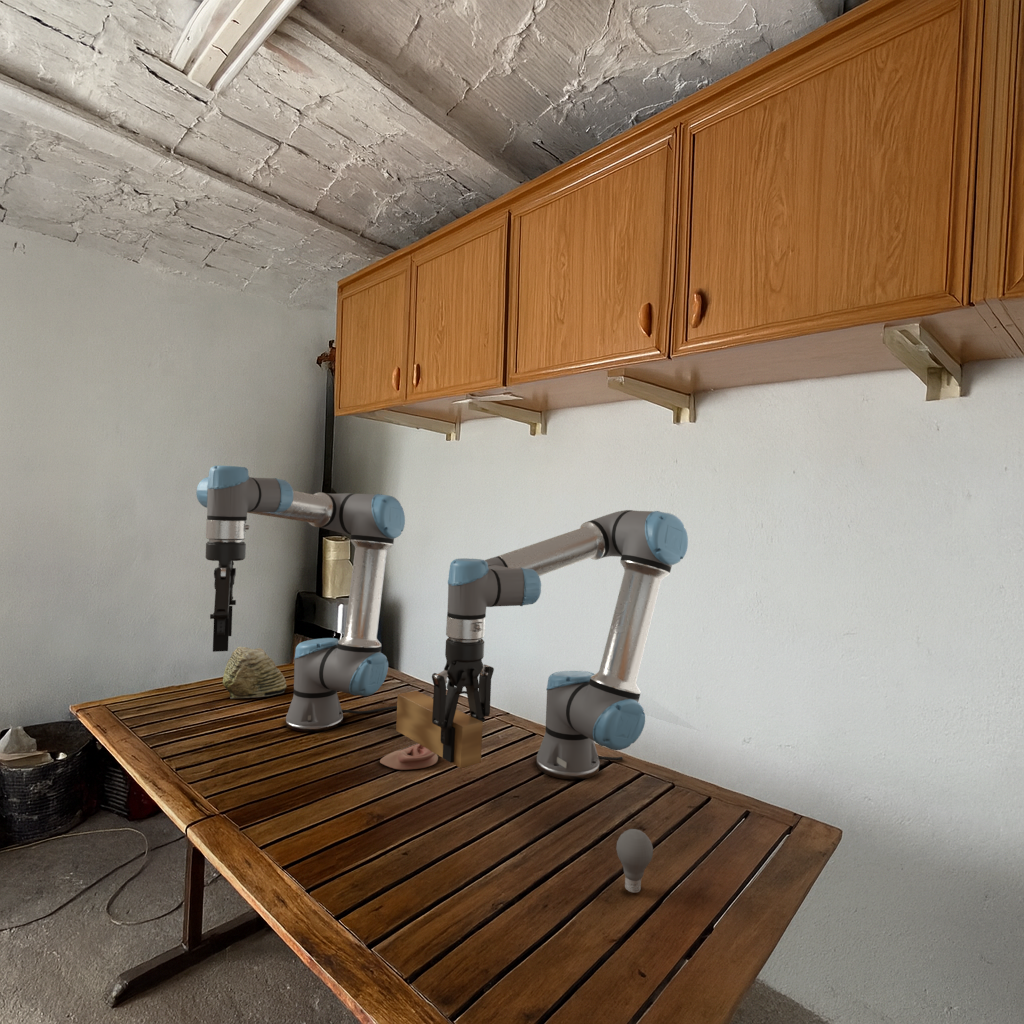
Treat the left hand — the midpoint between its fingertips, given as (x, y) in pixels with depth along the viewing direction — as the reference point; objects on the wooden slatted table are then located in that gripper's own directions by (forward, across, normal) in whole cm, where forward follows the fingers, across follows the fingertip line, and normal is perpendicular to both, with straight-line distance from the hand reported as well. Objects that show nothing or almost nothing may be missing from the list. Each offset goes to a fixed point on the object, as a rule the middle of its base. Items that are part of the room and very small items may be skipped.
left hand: (222, 643), depth 131 cm
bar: (+19, -18, -42) cm, 49 cm away
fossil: (+32, +69, -6) cm, 76 cm away
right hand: (+18, -25, -44) cm, 54 cm away
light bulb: (+32, -54, -66) cm, 91 cm away
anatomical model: (+32, +7, -42) cm, 53 cm away
